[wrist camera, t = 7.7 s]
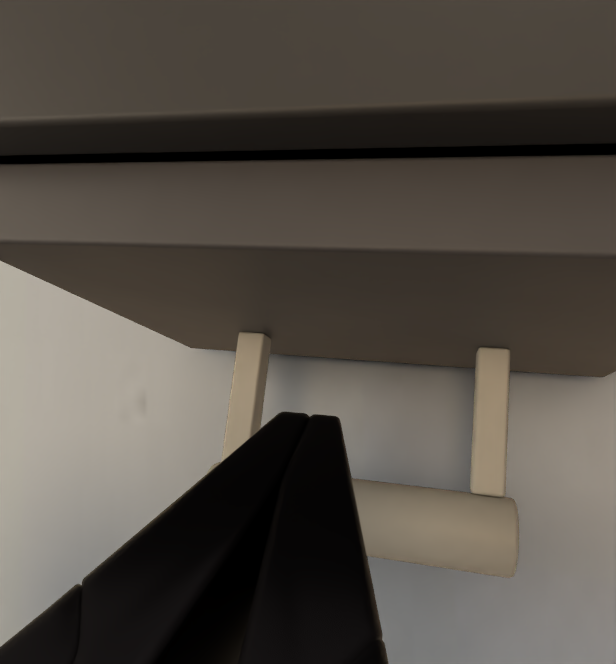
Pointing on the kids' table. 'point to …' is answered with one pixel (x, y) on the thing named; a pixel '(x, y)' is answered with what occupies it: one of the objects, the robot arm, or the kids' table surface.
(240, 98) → the fryer
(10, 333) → the kids' table surface
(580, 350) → the drawer
